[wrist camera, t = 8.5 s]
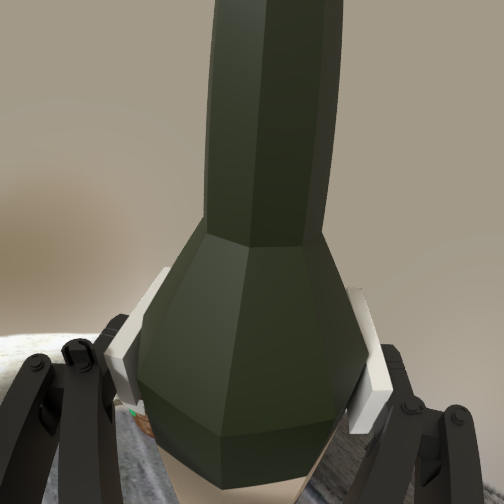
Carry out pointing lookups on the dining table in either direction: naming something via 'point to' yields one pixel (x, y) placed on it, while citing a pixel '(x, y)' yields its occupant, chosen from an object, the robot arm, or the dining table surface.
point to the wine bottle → (256, 271)
